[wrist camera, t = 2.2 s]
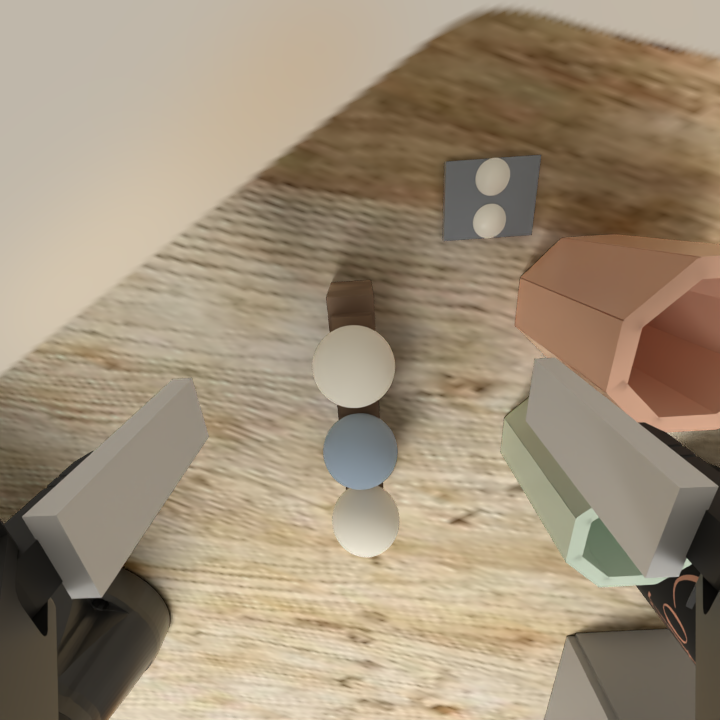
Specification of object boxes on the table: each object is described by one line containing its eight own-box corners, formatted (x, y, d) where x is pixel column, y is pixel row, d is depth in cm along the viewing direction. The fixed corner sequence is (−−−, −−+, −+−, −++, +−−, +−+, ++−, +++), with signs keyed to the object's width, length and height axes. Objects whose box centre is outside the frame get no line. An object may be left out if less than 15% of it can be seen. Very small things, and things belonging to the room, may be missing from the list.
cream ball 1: (321, 386, 20) (312, 427, 16) (312, 317, 18) (301, 345, 15) (392, 382, 20) (400, 421, 16) (390, 312, 18) (398, 339, 14)
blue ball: (329, 458, 22) (324, 509, 18) (322, 402, 20) (315, 445, 16) (394, 454, 22) (402, 504, 18) (392, 397, 20) (400, 440, 16)
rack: (350, 486, 28) (349, 536, 24) (331, 282, 21) (325, 300, 17) (381, 484, 28) (385, 534, 24) (370, 279, 21) (374, 297, 17)
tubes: (436, 478, 28) (470, 593, 19) (444, 162, 19) (512, 126, 11) (593, 469, 27) (696, 582, 19) (673, 145, 19) (922, 95, 11)
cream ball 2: (337, 518, 24) (333, 575, 20) (331, 471, 22) (326, 523, 18) (396, 515, 24) (403, 571, 20) (394, 467, 22) (402, 519, 18)
